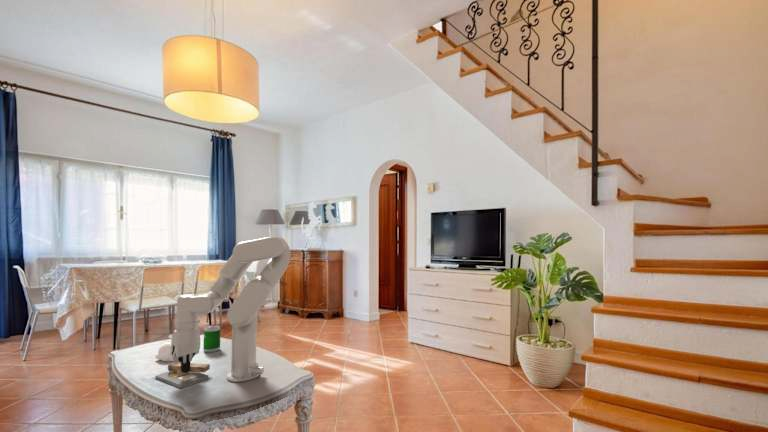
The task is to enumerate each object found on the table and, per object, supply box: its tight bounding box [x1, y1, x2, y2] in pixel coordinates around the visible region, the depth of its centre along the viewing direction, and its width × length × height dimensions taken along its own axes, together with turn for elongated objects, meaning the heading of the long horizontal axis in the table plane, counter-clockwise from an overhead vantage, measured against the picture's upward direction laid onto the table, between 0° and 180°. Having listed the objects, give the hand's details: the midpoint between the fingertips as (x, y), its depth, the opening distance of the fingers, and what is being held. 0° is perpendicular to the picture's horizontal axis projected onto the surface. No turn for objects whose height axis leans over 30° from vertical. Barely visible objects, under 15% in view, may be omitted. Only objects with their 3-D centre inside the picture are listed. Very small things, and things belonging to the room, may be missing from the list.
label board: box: [155, 370, 209, 390], centre depth 142 cm, size 18×11×2 cm, turn 59°
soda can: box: [202, 324, 221, 353], centre depth 177 cm, size 8×8×12 cm
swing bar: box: [167, 362, 211, 373], centre depth 145 cm, size 17×4×2 cm, turn 83°
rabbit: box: [154, 333, 174, 362], centre depth 164 cm, size 12×9×12 cm
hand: (185, 371), depth 141 cm, fingers closed
